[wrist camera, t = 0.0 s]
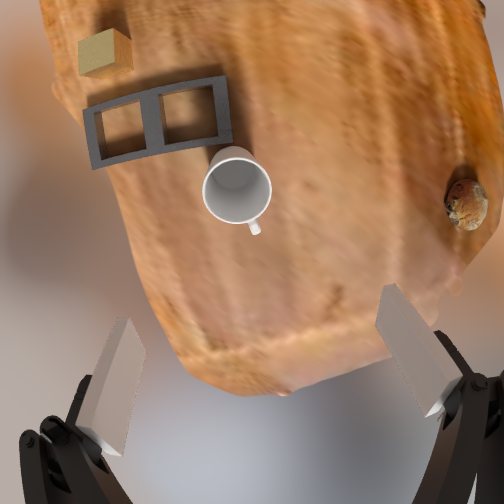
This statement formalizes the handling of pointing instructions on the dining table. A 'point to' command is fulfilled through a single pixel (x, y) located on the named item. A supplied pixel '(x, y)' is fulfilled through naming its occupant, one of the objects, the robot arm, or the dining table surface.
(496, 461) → the robot arm
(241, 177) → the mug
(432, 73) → the dining table surface
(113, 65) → the pale yellow block
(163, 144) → the grey flat frame
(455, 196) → the bread roll
